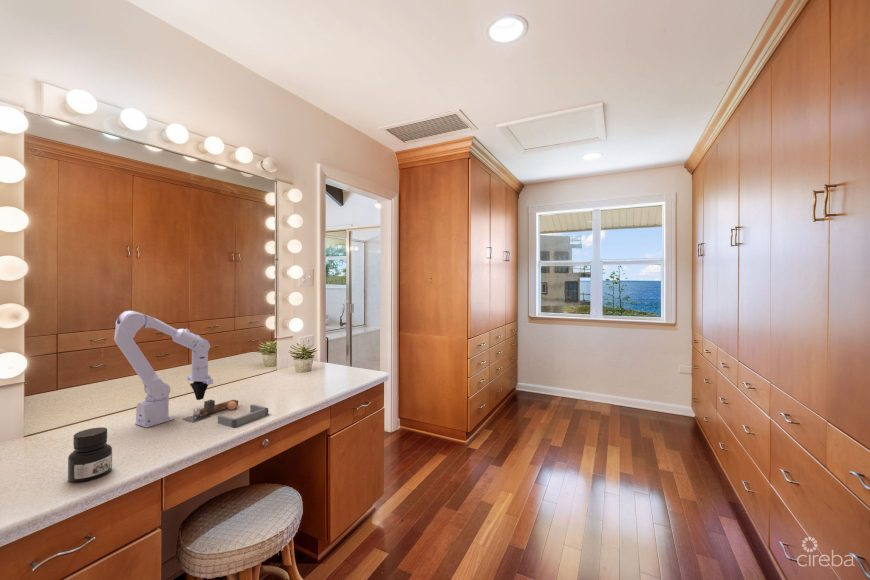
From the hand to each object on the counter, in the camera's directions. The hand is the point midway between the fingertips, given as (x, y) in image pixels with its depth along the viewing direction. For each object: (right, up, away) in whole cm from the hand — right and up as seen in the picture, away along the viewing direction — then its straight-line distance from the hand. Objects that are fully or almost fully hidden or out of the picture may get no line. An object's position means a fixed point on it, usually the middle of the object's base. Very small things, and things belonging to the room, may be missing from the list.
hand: (199, 399), depth 150 cm
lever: (+8, -5, 0) cm, 9 cm away
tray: (+22, -6, -7) cm, 24 cm away
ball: (+12, -4, +3) cm, 13 cm away
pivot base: (+4, -5, -7) cm, 10 cm away
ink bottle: (+2, -6, -50) cm, 50 cm away
